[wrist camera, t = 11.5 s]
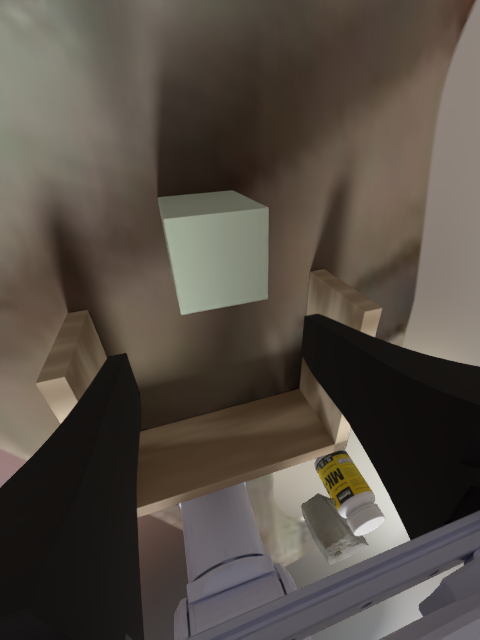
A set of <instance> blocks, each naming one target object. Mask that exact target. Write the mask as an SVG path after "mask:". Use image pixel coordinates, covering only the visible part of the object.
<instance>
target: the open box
mask: <svg viewBox="0 0 480 640" xmlns="http://www.w3.org/2000/svg"><path fill="white" fill-rule="evenodd" d="M381 311H382V308H381V307H380V306H378V305H377V304H376V303H374V302H373V301H371V300H370V299H368V298H367V297H365V296H364V295H362V294H361V293H359V292H358V291H356V290H355V289H353V288H352V287H350V286H349V285H347V284H346V283H344V282H343V281H341V280H340V279H338V278H337V277H335V276H334V275H332V274H331V273H329V272H328V271H326V270H325V269H321V270H315V271H310V280H309V291H308V302H307V313H306V316H308V315H313V314H321V315H324V316H326V317H329V318H331V319H333V320H336V321H338V322H340V323H342V324H345V325H347V326H349V327H352V328H354V329H356V330H358V331H361V332H363V333H366V334H368V335H370V336H373V337H375V334H376V331H377V327H378V323H379V319H380V315H381ZM106 359H107V356H106V354H105V351H104V349H103V346H102V344H101V341H100V339H99V336H98V334H97V331H96V329H95V326H94V324H93V321H92V319H91V316H90V314H89V311H88V310H84V311H78V312H72V313H68V314H67V316H66V318H65V320H64V322H63V325H62V327H61V329H60V331H59V333H58V336H57V338H56V340H55V342H54V344H53V346H52V349H51V351H50V353H49V355H48V357H47V359H46V362H45V364H44V366H43V368H42V370H41V373H40V375H39V377H38V379H37V381H36V385H37V386H38V388H39V390H40V391H41V393H42V394H43V396H44V398H45V399H46V401H47V402H48V404H49V406H50V407H51V409H52V410H53V412H54V414H55V415H56V417H57V419H58V420H59V422H60V423H62V422H63V421H64V419H65V418H66V417H67V415H68V414H69V413H70V412H71V410H72V409H73V408H74V406H75V405H76V404H77V402H78V401H79V400H80V398H81V397H82V395H83V394H84V392H85V391H86V389H87V388H88V387H89V385H90V384H91V382H92V381H93V379H94V378H95V376H96V375H97V373H98V372H99V370H100V368H101V367H102V365H103V364H104V362H105V361H106ZM350 430H351V426H350V425H349V423H348V422H347V420H346V419H345V417H344V416H343V414H342V413H341V412H340V410H339V409H338V408H337V406H336V405H335V404H334V403H333V401H332V400H331V399H330V397H329V396H328V395H327V393H326V392H325V391H324V389H323V388H322V387H321V385H320V384H319V383H318V381H317V380H316V378H315V377H314V376H313V374H312V373H311V371H310V369H309V368H308V366H307V364H306V362H305V360H304V358H303V356H302V367H301V378H300V389H296V390H293V391H289V392H285V393H282V394H278V395H274V396H270V397H267V398H263V399H259V400H256V401H252V402H248V403H244V404H241V405H237V406H233V407H230V408H226V409H222V410H218V411H215V412H211V413H207V414H204V415H200V416H196V417H192V418H189V419H185V420H181V421H177V422H174V423H170V424H166V425H163V426H159V427H155V428H151V429H148V430H144V431H140V441H139V454H138V468H137V517H140V516H143V515H146V514H149V513H152V512H155V511H159V510H162V509H165V508H168V507H171V506H174V505H177V504H180V503H183V502H186V501H189V500H192V499H195V498H198V497H201V496H204V495H207V494H210V493H213V492H216V491H219V490H222V489H225V488H228V487H231V486H234V485H237V484H240V483H243V482H246V481H249V480H252V479H255V478H258V477H261V476H264V475H267V474H270V473H273V472H276V471H279V470H282V469H285V468H288V467H291V466H294V465H297V464H300V463H303V462H306V461H309V460H312V459H315V458H318V457H321V456H324V455H327V454H330V453H333V452H336V451H339V450H342V449H345V448H346V446H347V441H348V438H349V434H350Z"/></svg>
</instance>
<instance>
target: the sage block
mask: <svg viewBox="0 0 480 640" xmlns="http://www.w3.org/2000/svg"><path fill="white" fill-rule="evenodd" d="M157 198H158V203H159V208H160V214H161V219H162V224H163V229H164V235H165V240H166V245H167V250H168V256H169V261H170V266H171V271H172V276H173V280H174V285H175V289H176V294H177V298H178V303H179V307H180V312H181V315H184V314H190V313H195V312H200V311H206V310H211V309H217V308H222V307H228V306H233V305H238V304H244V303H249V302H255V301H260V300H266V299H268V234H269V208H268V207H266V206H264V205H262V204H260V203H258V202H256V201H254V200H252V199H250V198H248V197H246V196H244V195H241V194H239V193H237V192H235V191H233V190H231V191H220V192H210V193H199V194H188V195H177V196H166V197H157Z"/></svg>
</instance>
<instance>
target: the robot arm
mask: <svg viewBox="0 0 480 640" xmlns="http://www.w3.org/2000/svg"><path fill="white" fill-rule="evenodd" d="M301 355H302V356H303V358H304V360H305V362H306V364H307V366H308V368H309V369H310V371H311V373H312V374H313V376H314V377H315V378H316V380H317V381H318V383H319V384H320V385H321V387H322V388H323V389H324V391H325V392H326V393H327V395H328V396H329V397H330V399H331V400H332V401H333V403H334V404H335V405H336V406H337V408H338V409H339V410H340V412H341V413H342V414H343V416H344V417H345V419H346V420H347V422H348V423H349V425H350V426H351V428H352V430H353V431H354V433H355V435H356V436H357V438H358V440H359V441H360V443H361V445H362V446H363V448H364V450H365V452H366V453H367V455H368V457H369V458H370V460H371V462H372V464H373V466H374V467H375V469H376V471H377V473H378V475H379V477H380V479H381V481H382V483H383V484H384V486H385V488H386V490H387V492H388V493H389V496H390V498H391V500H392V502H393V504H394V506H395V508H396V510H397V512H398V514H399V516H400V518H401V520H402V522H403V524H404V527H405V529H406V531H407V533H408V535H409V538H410V541H408V542H406V543H404V544H401V545H399V546H397V547H394V548H392V549H390V550H388V551H385V552H383V553H381V554H379V555H376V556H374V557H371V558H369V559H367V560H365V561H362V562H360V563H358V564H355V565H353V566H351V567H349V568H346V569H344V570H342V571H340V572H337V573H335V574H333V575H330V576H328V577H326V578H323V579H321V580H319V581H316V582H314V583H312V584H310V585H307V586H305V587H303V588H300V589H298V590H297V588H296V585H295V583H294V581H293V579H292V577H291V575H290V573H289V572H288V570H287V569H285V568H284V567H282V565H281V564H279V563H276V564H273V562H272V558H271V555H270V554H265V551H264V547H263V544H262V541H261V537H260V534H259V531H258V527H257V524H256V521H255V517H254V514H253V511H252V507H251V504H250V501H249V497H248V494H247V491H246V482H243V483H240V484H237V485H234V486H231V487H228V488H225V489H222V490H219V491H216V492H213V493H210V494H207V495H204V496H201V497H198V498H195V499H192V500H189V501H186V502H183V503H180V504H179V505H180V508H181V512H182V522H183V532H184V541H185V550H186V561H187V570H188V580H189V584H187V594H188V600H187V598H185V599H182V600H181V601H180V603H179V606H178V608H177V610H176V612H175V617H174V632H175V634H174V635H175V640H312V638H311V635H313V634H315V633H317V632H319V631H321V630H324V629H325V628H328V627H330V626H332V625H334V624H336V623H338V622H340V621H342V620H344V619H346V618H348V617H351V616H353V615H355V614H357V613H359V612H361V611H363V610H365V609H367V608H369V607H371V606H373V605H375V604H378V603H380V602H382V601H384V600H386V599H388V598H390V597H392V596H394V595H396V594H399V593H401V592H402V591H405V590H407V589H409V588H411V587H413V586H415V585H417V584H419V583H421V582H424V581H426V580H428V579H430V578H432V577H434V576H436V575H438V574H440V573H442V572H444V571H446V570H448V569H451V568H453V567H455V566H457V565H459V564H461V563H463V562H464V566H463V567H461V568H459V569H458V570H456V571H455V572H453V573H451V574H450V575H448V576H447V577H445V578H443V580H442V582H441V583H440V585H439V587H438V588H437V589H436V590H435V591H434V592H433V593H432V594H431V595H430V596H429V597H427V598H426V599H425V600H424V601H422V602H421V603H420V604H419V610H420V612H421V614H422V615H423V617H422V618H420V619H419V620H416V621H414V622H412V623H410V624H409V625H406V626H405V627H403V628H401V629H399V630H397V631H395V632H393V633H391V634H389V635H387V636H385V637H383V638H381V639H379V640H480V367H479V366H473V365H468V364H463V363H458V362H454V361H449V360H445V359H441V358H437V357H433V356H429V355H425V354H422V353H419V352H416V351H412V350H409V349H406V348H403V347H400V346H397V345H394V344H391V343H388V342H386V341H383V340H381V339H378V338H375V337H373V336H370V335H368V334H366V333H363V332H361V331H358V330H356V329H354V328H352V327H349V326H347V325H345V324H342V323H340V322H338V321H336V320H333V319H331V318H329V317H326V316H324V315H321V314H313V315H308V316H305V318H304V329H303V341H302V352H301ZM140 426H141V406H140V392H139V389H138V386H137V383H136V381H135V378H134V375H133V372H132V369H131V366H130V363H129V360H128V357H127V354H126V353H124V354H119V355H114V356H109V357H108V358H107V359H106V361H105V362H104V364H103V365H102V367H101V368H100V370H99V372H98V373H97V375H96V376H95V378H94V379H93V381H92V382H91V384H90V385H89V387H88V388H87V389H86V391H85V392H84V394H83V395H82V397H81V398H80V400H79V401H78V402H77V404H76V405H75V406H74V408H73V409H72V410H71V412H70V413H69V414H68V415H67V417H66V418H65V419H64V421H63V422H62V423H61V424H60V426H59V427H58V428H57V429H56V430H55V432H54V433H53V434H52V435H51V436H50V437H49V439H48V440H47V441H46V442H45V443H44V444H43V445H42V446H41V447H40V448H39V450H38V451H37V452H36V453H35V454H34V455H33V456H32V457H31V458H30V459H29V460H28V461H27V462H26V463H25V464H24V465H23V466H22V467H21V468H20V469H19V470H18V471H17V472H16V473H15V474H14V475H13V476H12V477H11V478H10V479H9V480H8V481H7V482H6V483H5V484H4V485H3V486H2V487H1V488H0V640H144V631H143V616H142V602H141V587H140V568H139V551H138V550H139V549H138V525H137V468H138V454H139V441H140Z"/></svg>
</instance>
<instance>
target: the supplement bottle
mask: <svg viewBox="0 0 480 640" xmlns="http://www.w3.org/2000/svg"><path fill="white" fill-rule="evenodd" d="M315 469H316V471H317V473H318V474H319V476H320V478H321V480H322V482H323V484H324V486H325V488H326V490H327V492H328V494H329V495H330V497H331V499H332V501H333V503H334V505H335V507H336V509H337V511H338V512H339V514H340V515H341V516H342V517H344V518H347V523H348V525H349V527H350V529H351V530H352V532H353V534H354V535H355V536H361V535H364V534H367V533H369V532H371V531H373V530H374V529H376V528H377V527H379V526H380V525H381V524H382V523H383V522H384V520H385V517H384V515H383V513H382V512H381V510H380V509H379V507H378V505H377V504H374V502H375V496H374V494H373V492H372V490H371V489H370V487H369V486H368V484H367V483H366V481H365V480H364V478H363V477H362V475H361V474H360V472H359V470H358V469H357V467H356V466H355V464H354V463H353V461H352V460H351V458H350V457H349V455H348V454H347V452H346V451H345V450H344V449H342V450H339V451H336V452H333V453H330V454H327V455H324V456H321V457H318V458H317V460H316V462H315Z"/></svg>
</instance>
